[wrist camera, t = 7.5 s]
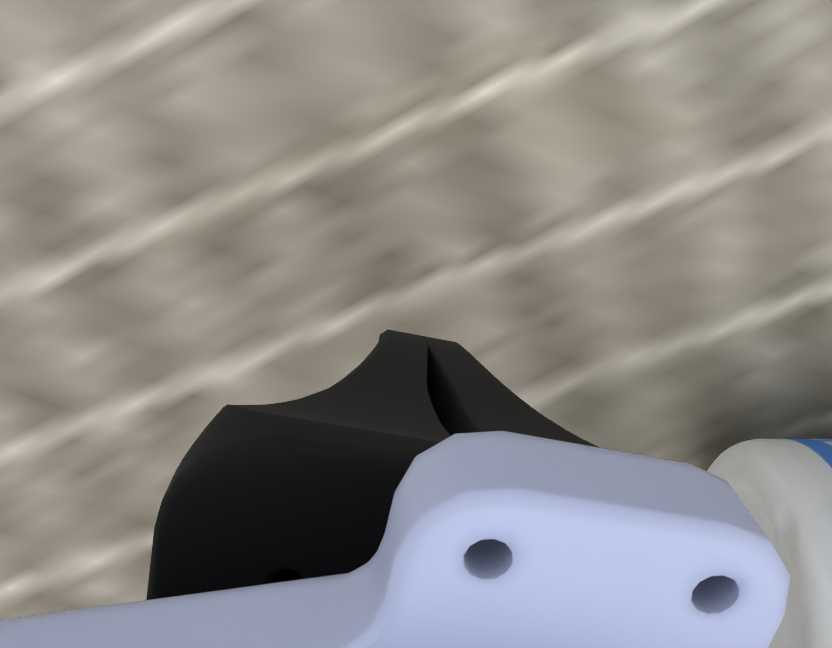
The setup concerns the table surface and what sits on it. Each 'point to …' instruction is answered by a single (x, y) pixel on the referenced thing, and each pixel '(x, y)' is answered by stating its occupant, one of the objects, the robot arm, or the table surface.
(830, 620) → the supplement tub
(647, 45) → the table surface
